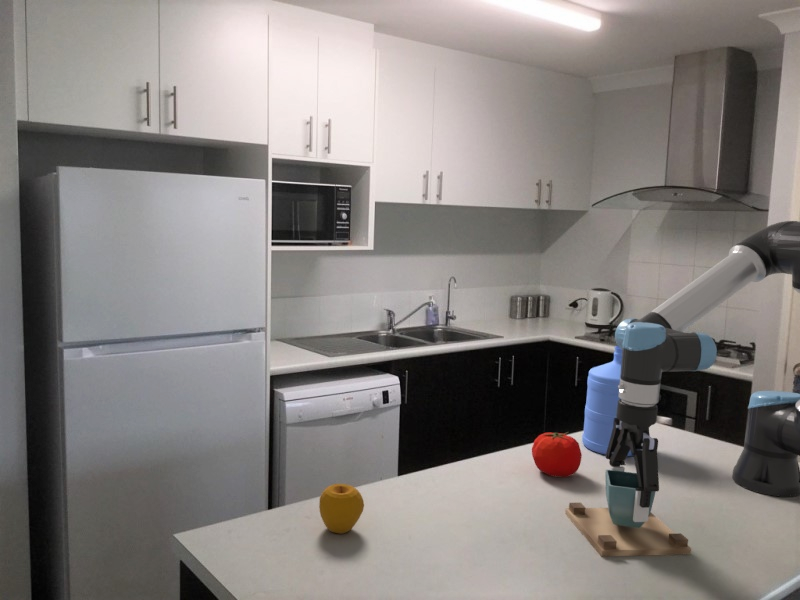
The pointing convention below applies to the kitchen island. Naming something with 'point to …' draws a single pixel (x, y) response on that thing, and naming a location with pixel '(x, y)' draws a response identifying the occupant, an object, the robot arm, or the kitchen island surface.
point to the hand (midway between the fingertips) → (627, 508)
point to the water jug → (602, 404)
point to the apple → (340, 507)
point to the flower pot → (623, 497)
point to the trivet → (625, 534)
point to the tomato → (556, 454)
